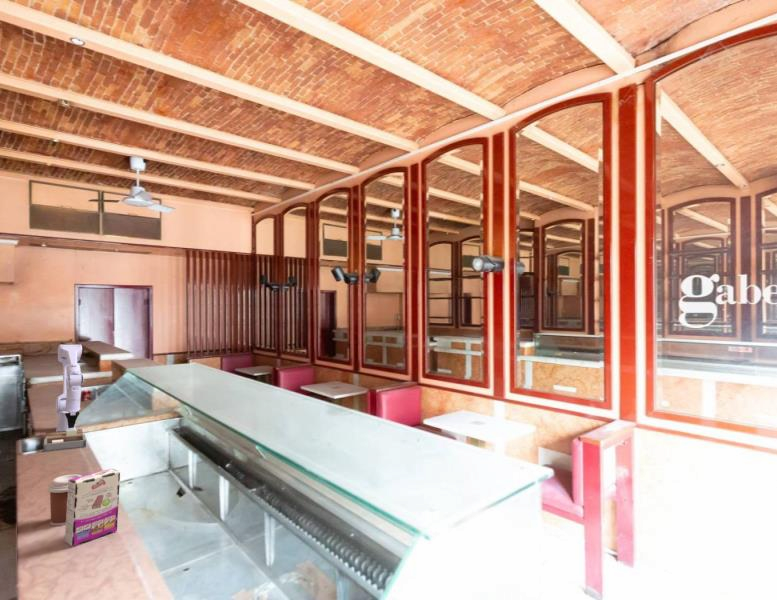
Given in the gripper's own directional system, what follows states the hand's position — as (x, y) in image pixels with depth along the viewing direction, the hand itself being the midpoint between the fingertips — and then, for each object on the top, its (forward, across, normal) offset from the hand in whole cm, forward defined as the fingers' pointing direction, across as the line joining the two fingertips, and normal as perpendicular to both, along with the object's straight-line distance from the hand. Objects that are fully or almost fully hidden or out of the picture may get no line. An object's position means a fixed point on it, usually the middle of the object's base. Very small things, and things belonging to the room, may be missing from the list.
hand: (71, 427), depth 214 cm
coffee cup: (+5, +105, -4) cm, 106 cm away
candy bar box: (+5, +120, +2) cm, 121 cm away
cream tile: (+2, +17, -5) cm, 18 cm away
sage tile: (+2, +7, 0) cm, 7 cm away
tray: (+4, +18, -2) cm, 18 cm away
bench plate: (+4, +4, -2) cm, 7 cm away
